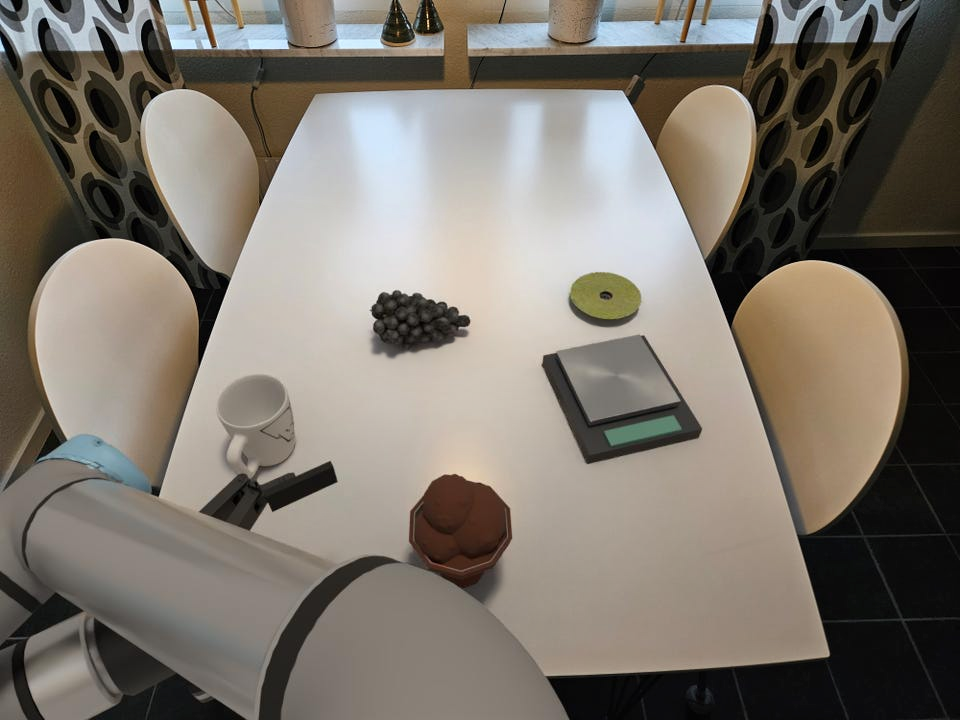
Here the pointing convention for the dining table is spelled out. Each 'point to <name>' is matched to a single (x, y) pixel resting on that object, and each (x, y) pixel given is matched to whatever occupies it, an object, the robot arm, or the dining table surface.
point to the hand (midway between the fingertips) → (363, 527)
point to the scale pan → (616, 379)
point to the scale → (622, 421)
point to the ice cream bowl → (460, 528)
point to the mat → (605, 295)
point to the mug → (256, 422)
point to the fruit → (414, 319)
